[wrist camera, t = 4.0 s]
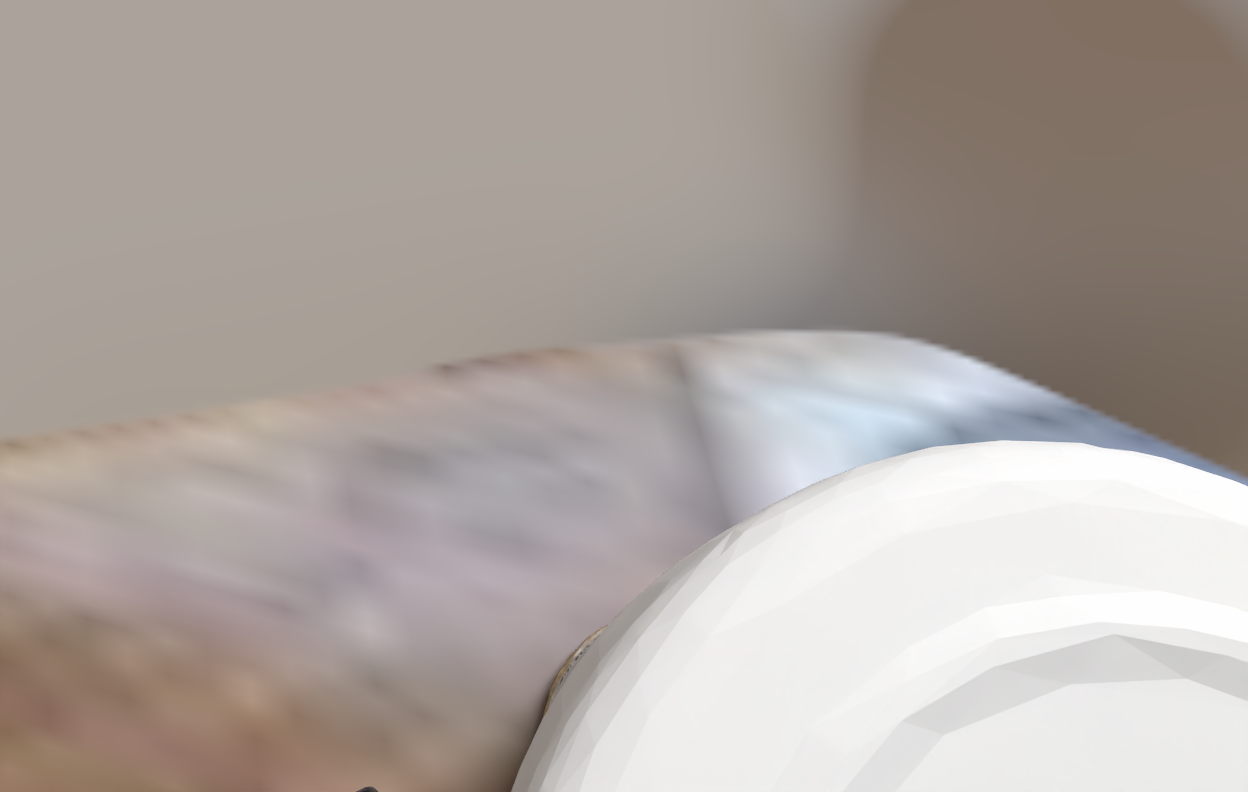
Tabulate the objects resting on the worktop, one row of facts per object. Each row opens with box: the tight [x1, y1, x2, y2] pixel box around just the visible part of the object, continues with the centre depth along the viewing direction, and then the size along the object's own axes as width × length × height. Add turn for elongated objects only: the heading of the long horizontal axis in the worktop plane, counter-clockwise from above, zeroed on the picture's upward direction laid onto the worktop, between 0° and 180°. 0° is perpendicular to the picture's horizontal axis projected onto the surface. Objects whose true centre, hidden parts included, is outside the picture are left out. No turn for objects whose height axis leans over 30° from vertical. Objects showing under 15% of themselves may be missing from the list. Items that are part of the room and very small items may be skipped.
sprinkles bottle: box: [511, 441, 1248, 792], centre depth 8 cm, size 5×5×13 cm
